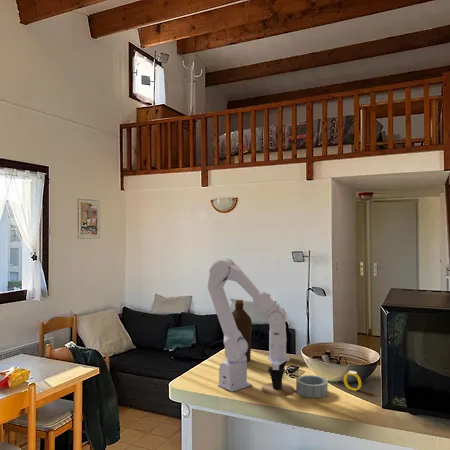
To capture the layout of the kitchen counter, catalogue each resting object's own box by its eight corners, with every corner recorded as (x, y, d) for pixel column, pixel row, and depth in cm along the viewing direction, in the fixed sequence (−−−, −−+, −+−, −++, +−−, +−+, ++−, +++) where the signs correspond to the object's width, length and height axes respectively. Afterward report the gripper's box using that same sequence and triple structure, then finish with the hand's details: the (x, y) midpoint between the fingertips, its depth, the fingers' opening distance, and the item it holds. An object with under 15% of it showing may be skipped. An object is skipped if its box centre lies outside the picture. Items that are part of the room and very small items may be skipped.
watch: (362, 391, 145) (363, 374, 144) (357, 393, 143) (358, 376, 143) (346, 385, 149) (347, 368, 149) (342, 387, 147) (343, 370, 147)
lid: (278, 399, 137) (278, 386, 137) (254, 390, 146) (254, 377, 146) (300, 391, 144) (300, 378, 145) (276, 382, 153) (276, 370, 153)
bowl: (314, 400, 136) (314, 388, 136) (290, 391, 143) (290, 379, 143) (333, 393, 142) (333, 381, 142) (309, 384, 150) (309, 373, 150)
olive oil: (245, 355, 185) (245, 297, 185) (256, 362, 175) (256, 301, 175) (222, 358, 181) (222, 298, 181) (232, 365, 171) (232, 302, 172)
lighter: (340, 380, 154) (340, 358, 154) (337, 381, 153) (337, 359, 153) (324, 375, 159) (324, 354, 160) (321, 376, 158) (321, 354, 159)
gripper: (288, 351, 137) (288, 393, 137) (290, 339, 152) (290, 378, 151) (266, 349, 139) (266, 391, 139) (270, 338, 153) (270, 377, 153)
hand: (277, 384), depth 145 cm, fingers open, 7 cm apart
